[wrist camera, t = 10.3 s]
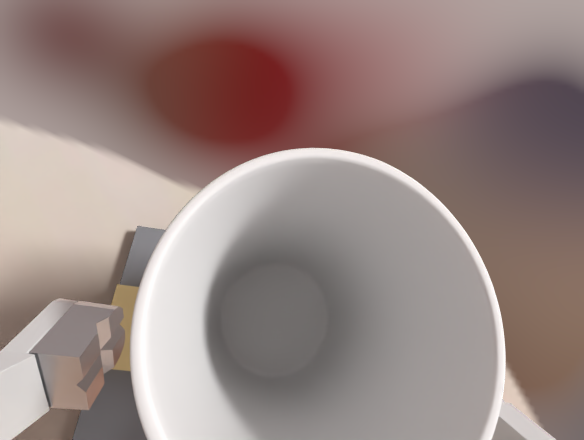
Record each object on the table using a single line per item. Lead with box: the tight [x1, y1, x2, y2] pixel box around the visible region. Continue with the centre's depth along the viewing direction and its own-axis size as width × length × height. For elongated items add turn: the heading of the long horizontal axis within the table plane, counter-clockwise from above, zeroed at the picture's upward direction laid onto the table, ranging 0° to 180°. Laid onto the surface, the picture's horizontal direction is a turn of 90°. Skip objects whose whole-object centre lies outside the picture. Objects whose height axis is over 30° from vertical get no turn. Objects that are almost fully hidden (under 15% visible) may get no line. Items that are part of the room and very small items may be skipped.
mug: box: [130, 148, 505, 440], centre depth 10 cm, size 10×7×12 cm, turn 157°
